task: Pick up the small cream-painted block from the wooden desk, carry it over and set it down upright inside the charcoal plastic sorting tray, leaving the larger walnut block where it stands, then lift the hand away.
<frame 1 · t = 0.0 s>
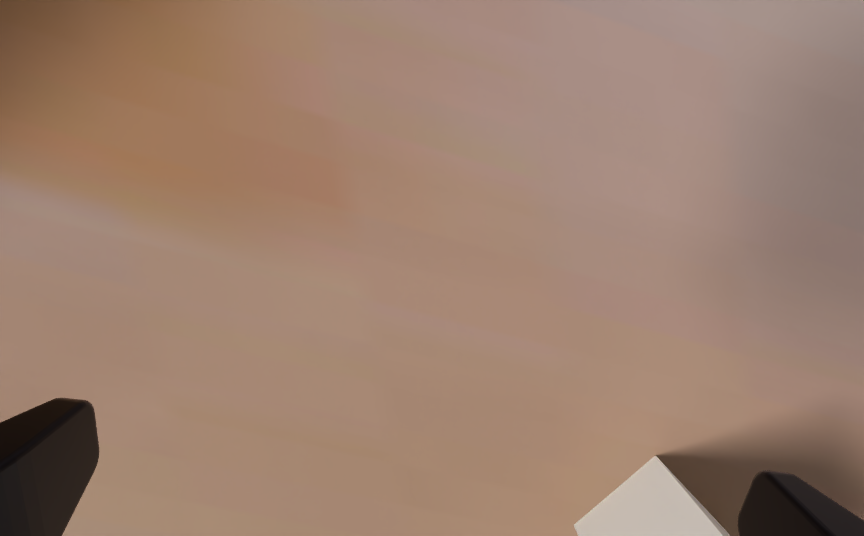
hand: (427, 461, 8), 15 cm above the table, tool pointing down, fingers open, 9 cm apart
small block: (648, 526, 25), on the table
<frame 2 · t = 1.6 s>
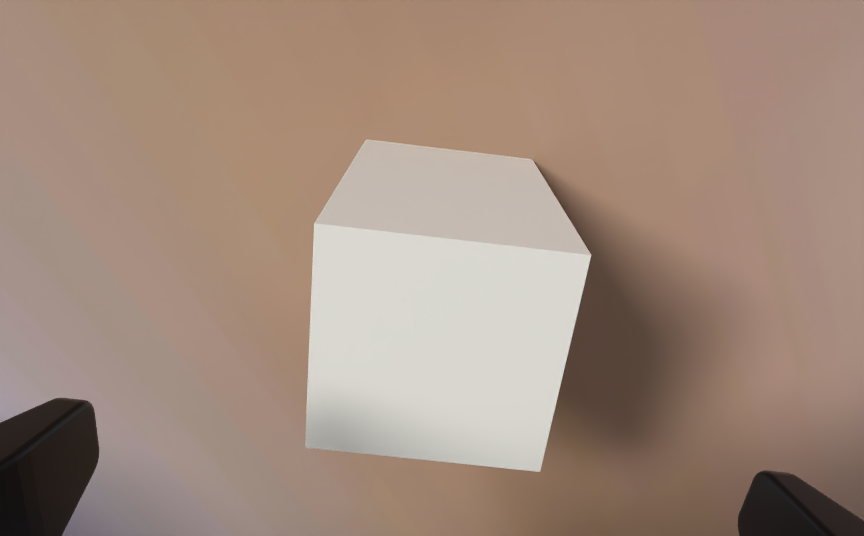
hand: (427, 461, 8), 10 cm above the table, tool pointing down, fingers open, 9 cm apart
small block: (439, 227, 17), on the table
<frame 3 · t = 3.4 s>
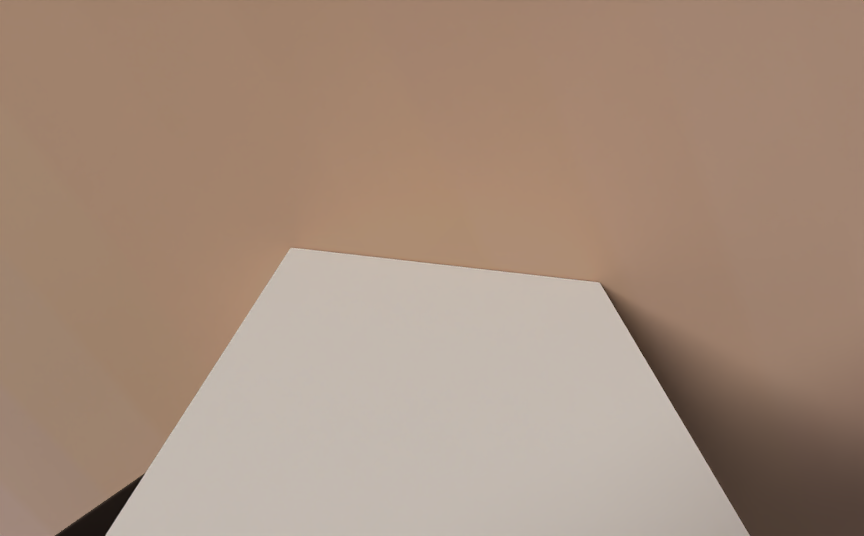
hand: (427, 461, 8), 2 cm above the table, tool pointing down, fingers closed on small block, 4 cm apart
small block: (428, 394, 10), on the table, touching gripper
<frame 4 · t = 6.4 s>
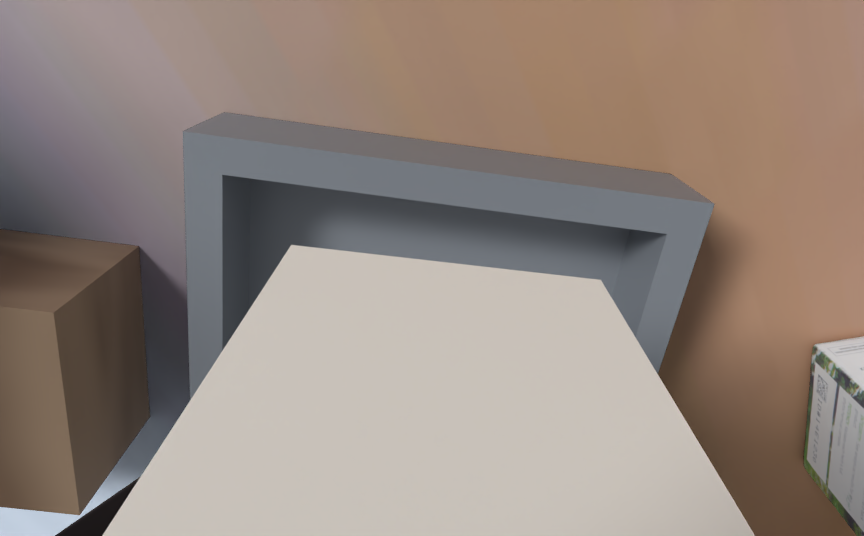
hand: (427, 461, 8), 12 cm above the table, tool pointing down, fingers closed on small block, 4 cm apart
small block: (429, 392, 10), point 11 cm above the table, touching gripper
sorting tray: (422, 339, 21), on the table
oversize block: (47, 322, 21), on the table
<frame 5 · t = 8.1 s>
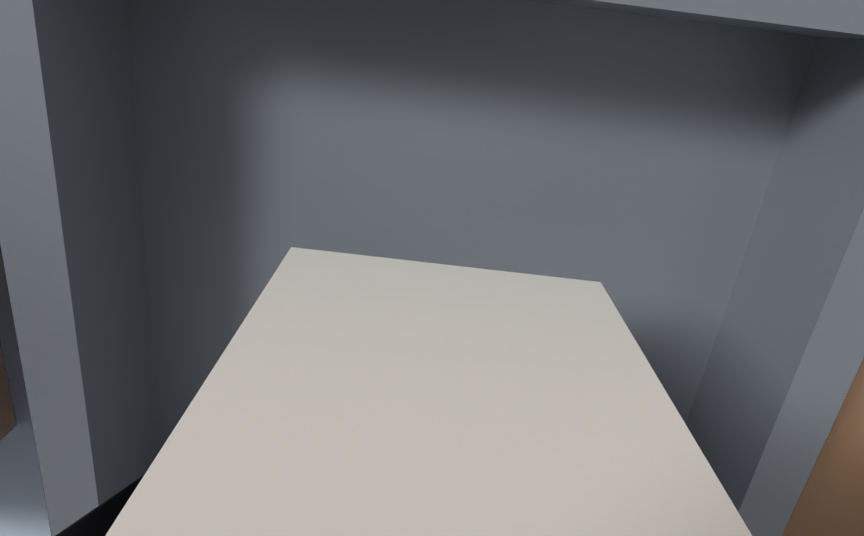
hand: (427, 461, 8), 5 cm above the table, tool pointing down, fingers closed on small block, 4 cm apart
small block: (429, 394, 10), point 4 cm above the table, touching gripper
sorting tray: (436, 294, 13), on the table
when the fingers open (4 cm above the table, at t = 9.5 s): small block drops 1 cm, resting on sorting tray.
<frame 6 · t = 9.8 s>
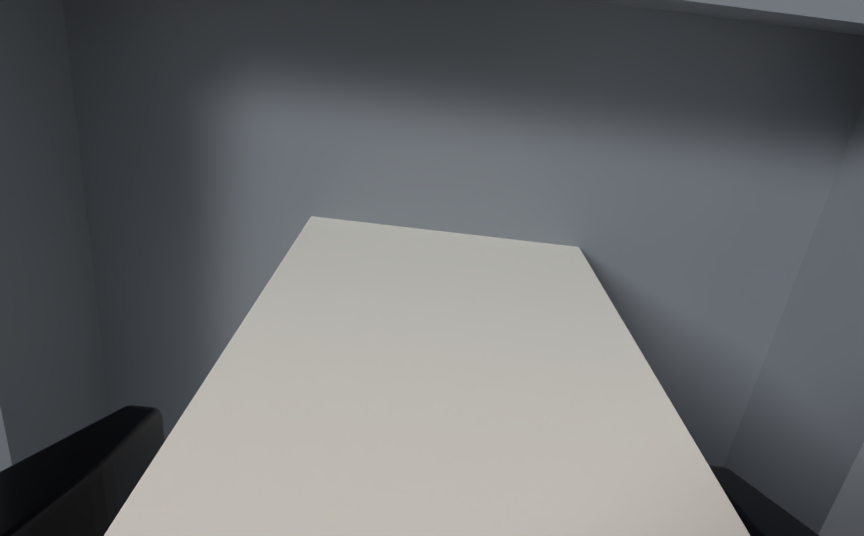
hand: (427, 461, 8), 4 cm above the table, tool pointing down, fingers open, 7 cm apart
small block: (430, 348, 11), point 1 cm above the table, touching sorting tray
sorting tray: (432, 333, 11), on the table
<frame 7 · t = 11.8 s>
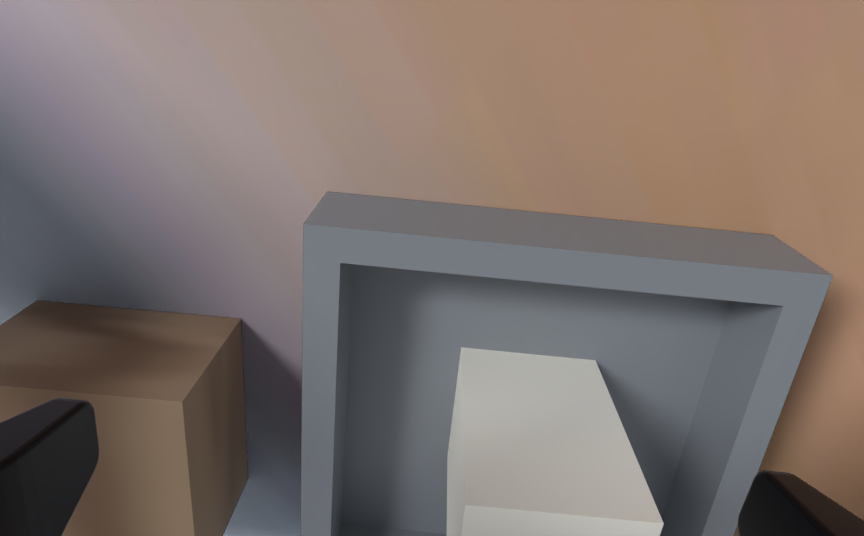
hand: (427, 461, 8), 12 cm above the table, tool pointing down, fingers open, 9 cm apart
small block: (518, 409, 21), point 1 cm above the table, touching sorting tray
sorting tray: (517, 400, 21), on the table
oversize block: (151, 392, 22), on the table
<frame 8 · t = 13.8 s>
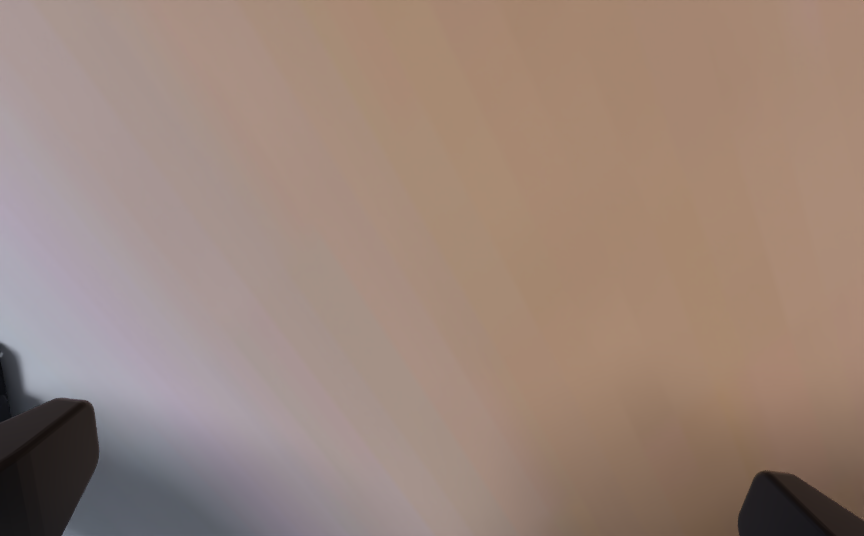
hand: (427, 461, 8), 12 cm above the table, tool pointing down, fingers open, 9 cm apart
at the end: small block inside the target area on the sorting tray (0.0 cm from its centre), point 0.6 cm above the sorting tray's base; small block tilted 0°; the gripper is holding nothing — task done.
